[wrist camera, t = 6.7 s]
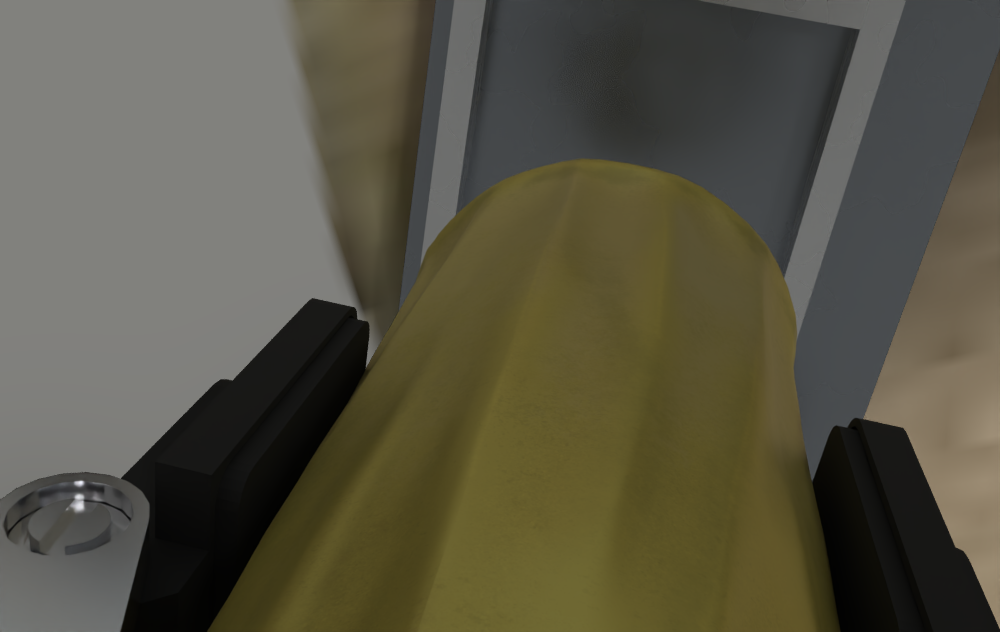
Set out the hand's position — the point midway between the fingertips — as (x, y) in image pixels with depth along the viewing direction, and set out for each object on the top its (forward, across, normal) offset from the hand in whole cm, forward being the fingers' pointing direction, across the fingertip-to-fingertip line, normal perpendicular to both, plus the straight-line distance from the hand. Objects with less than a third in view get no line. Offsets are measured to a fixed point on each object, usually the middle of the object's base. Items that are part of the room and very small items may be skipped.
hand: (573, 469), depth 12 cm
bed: (+17, -1, +3) cm, 17 cm away
